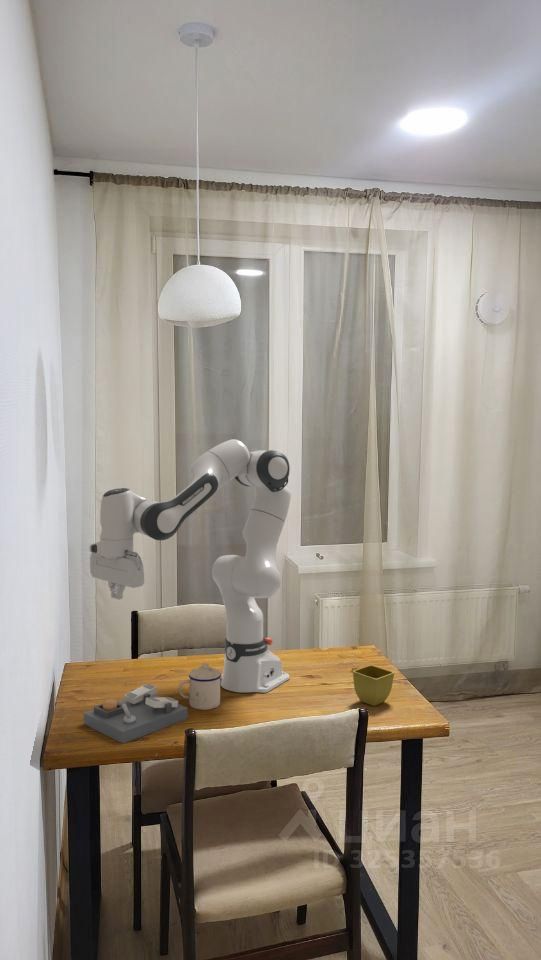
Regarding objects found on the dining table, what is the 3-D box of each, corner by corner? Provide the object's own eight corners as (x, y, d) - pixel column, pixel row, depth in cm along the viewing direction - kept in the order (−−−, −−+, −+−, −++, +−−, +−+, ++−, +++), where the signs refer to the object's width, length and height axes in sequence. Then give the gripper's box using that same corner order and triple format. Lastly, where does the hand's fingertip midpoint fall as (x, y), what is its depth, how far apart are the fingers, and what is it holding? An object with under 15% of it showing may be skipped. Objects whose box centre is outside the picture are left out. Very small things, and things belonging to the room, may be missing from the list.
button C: (111, 706, 194) (111, 697, 194) (119, 710, 192) (119, 701, 192) (100, 710, 192) (100, 701, 191) (108, 714, 189) (108, 705, 189)
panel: (145, 701, 207) (145, 673, 207) (187, 718, 195) (187, 689, 195) (81, 722, 192) (81, 692, 191) (123, 743, 180) (123, 711, 179)
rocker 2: (167, 703, 198) (168, 696, 198) (177, 707, 195) (178, 700, 195) (144, 703, 192) (146, 696, 192) (154, 707, 189) (155, 701, 189)
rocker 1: (148, 688, 204) (147, 682, 204) (157, 692, 201) (156, 686, 201) (124, 700, 198) (124, 694, 198) (133, 704, 196) (133, 698, 195)
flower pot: (394, 702, 209) (395, 671, 208) (375, 710, 203) (376, 679, 202) (370, 694, 215) (370, 664, 215) (351, 701, 209) (351, 671, 209)
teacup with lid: (217, 697, 211) (218, 657, 210) (223, 709, 202) (224, 668, 202) (176, 700, 208) (176, 660, 207) (180, 712, 199) (180, 671, 199)
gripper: (150, 551, 193) (149, 603, 194) (104, 542, 207) (105, 590, 208) (130, 554, 189) (130, 607, 190) (85, 545, 202) (86, 594, 203)
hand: (116, 598), depth 199 cm, fingers closed
